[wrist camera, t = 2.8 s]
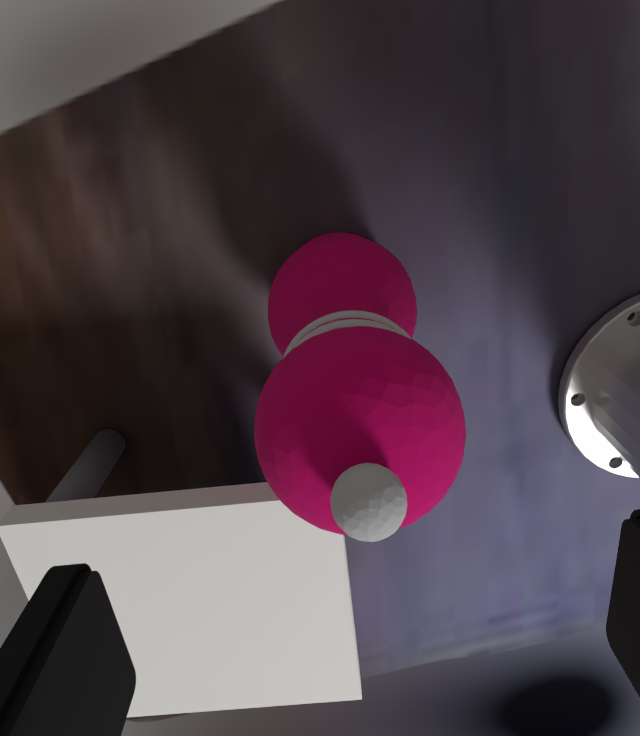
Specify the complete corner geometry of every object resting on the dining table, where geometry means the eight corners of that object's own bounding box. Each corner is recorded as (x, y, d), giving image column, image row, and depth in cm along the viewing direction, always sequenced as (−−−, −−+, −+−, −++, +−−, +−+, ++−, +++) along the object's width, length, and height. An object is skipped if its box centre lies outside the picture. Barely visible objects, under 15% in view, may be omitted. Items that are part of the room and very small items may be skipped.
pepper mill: (258, 242, 29) (152, 424, 10) (387, 206, 28) (521, 334, 10) (294, 360, 31) (262, 668, 13) (413, 330, 31) (555, 613, 12)
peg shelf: (332, 399, 33) (338, 495, 24) (351, 571, 38) (362, 699, 29) (80, 424, 33) (-5, 526, 24) (135, 589, 39) (82, 720, 30)
